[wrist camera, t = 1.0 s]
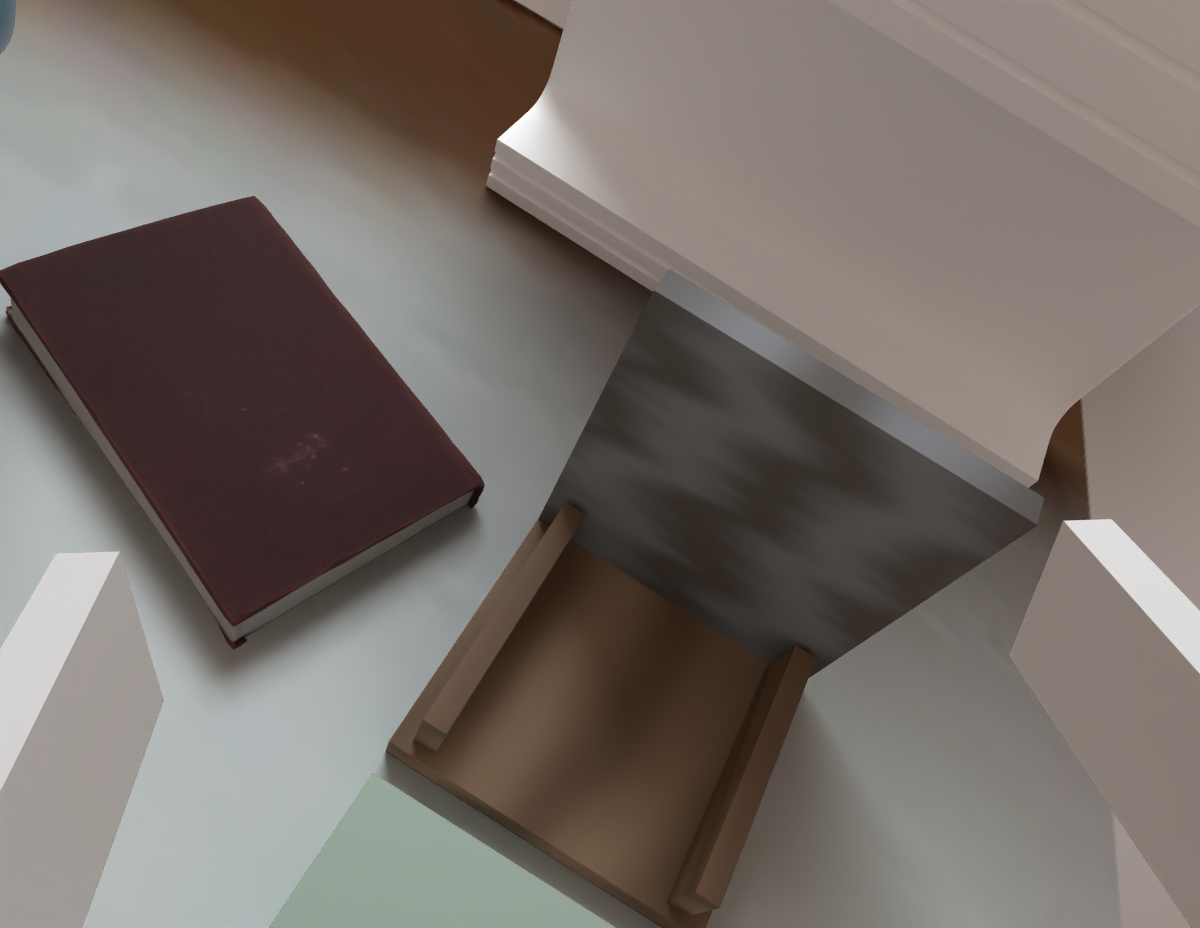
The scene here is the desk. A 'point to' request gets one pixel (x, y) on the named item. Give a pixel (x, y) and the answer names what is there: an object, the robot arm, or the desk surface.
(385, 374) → the book
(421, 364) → the desk surface
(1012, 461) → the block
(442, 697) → the slot board
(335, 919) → the grey-green tall block
